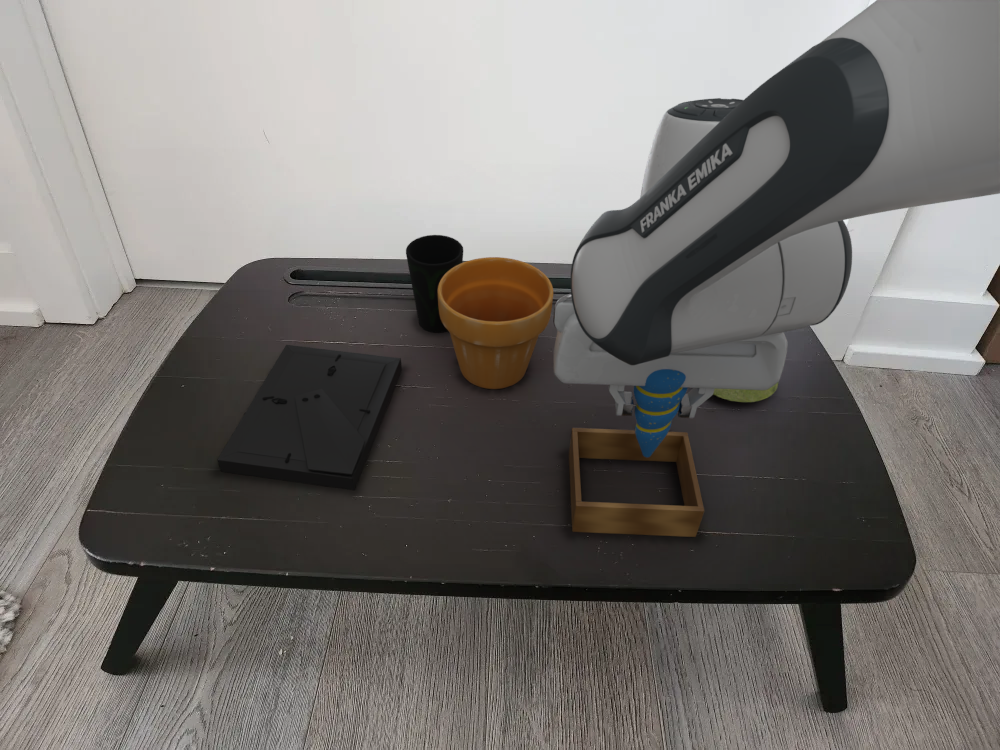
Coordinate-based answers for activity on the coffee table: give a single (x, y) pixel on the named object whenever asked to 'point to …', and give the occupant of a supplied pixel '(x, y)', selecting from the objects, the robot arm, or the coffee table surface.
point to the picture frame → (313, 418)
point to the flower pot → (494, 317)
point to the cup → (431, 275)
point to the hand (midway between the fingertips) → (654, 412)
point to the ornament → (657, 407)
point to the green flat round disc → (745, 394)
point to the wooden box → (634, 515)
